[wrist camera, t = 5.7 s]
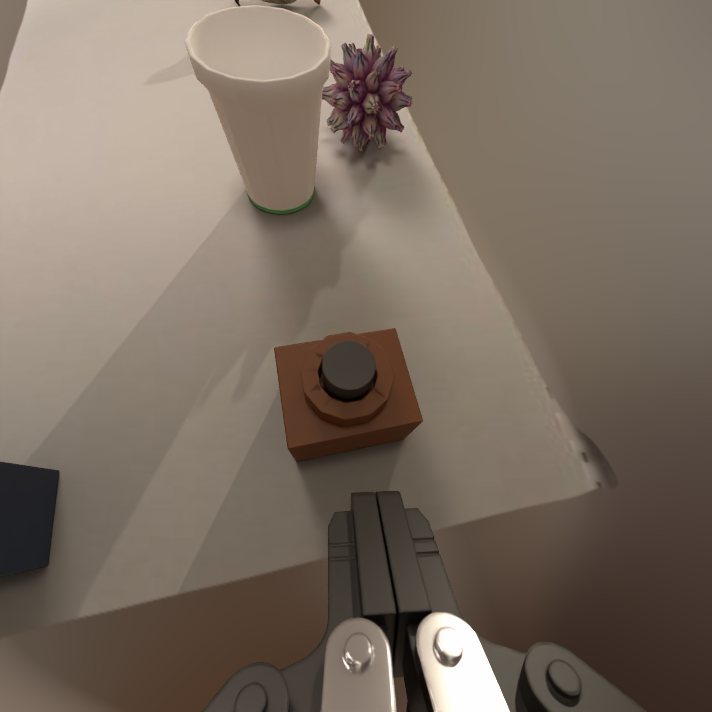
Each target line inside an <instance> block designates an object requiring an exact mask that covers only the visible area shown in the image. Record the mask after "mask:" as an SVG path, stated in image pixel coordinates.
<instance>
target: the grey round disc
mask: <svg viewBox="0 0 712 712" xmlns="http://www.w3.org/2000/svg"><path fill="white" fill-rule="evenodd" d="M375 370H376V362H375V358H374V356H373V354H372V352H371V351H370V350H369V349H368V348H367V347H366V346H364V345H363V344H361V343H359V342H355V341H341V342H338V343H336V344H334V345H333V346H331V347H330V348H329V349H328V350H327V351H326V353H325V355H324V357H323V361H322V377H323V382H324V385H325V387H326V388H327V389H328V391H329V392H330V393H331V394H333V395H334V396H336V397H339V398H342V399H354V398H357V397H360V396H361V395H363V394H364V393H365V392H366V391H367V390H368V389H369V387H370V385H371V383H372V380H373V377H374V374H375Z"/></svg>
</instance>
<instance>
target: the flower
mask: <svg viewBox="0 0 712 712" xmlns="http://www.w3.org/2000/svg"><path fill="white" fill-rule="evenodd" d="M341 47H342V50H343V60H344V65H343V64H338V63H334V62H333V61H332V60H330V71H331V73H332V74H333V77H334V79H335V81H336V82H337V84H332V85H331V86H329V87H323V90H322V99H324V100H326V101H327V102H328V103H329V104H330V105H331V106H333V107H335V108H334V109H333V111H332V113H331V116H330V117H329V118H328V119H327V123H328V126H330V125H331V126H330V129H331V130H332V132H333V133H335V132H336V131H337V130H343V137H342V140H341V142H342V143H343V144H344V143H345V141H346V140H347V139H349V138H350V137H351V136H352V137H353V147H355V148H356V147H357V145H358V144H359V151H364V146H365V145H366V143H367V142H368V140H371V141H373V142H374V143H375V144H376V145H377V147H378V149H379V150H380V149H381V148H383V145H385V144H386V143H387V142H386V138H385V134H386V128H388V129H391V130H398V131H400V132H402V130H403V129H404V126H403V125H402V124H401V122H400V119H399V116H398V114H397V113H396V111H398V110H400V109H402V108H404V107H410V106H411V102H412V101H411V100H412V97H411V96H407V95H405V94H404V93H403V92H402V85H403V83H404V82H405V80H406V79H407V78H408V77H409V76H410V75H411V74H412V72H411V71H410V70H407V71H405V72H403V71H404V67H403V66H402V65H401V66H399V67H398V68H393V65H394V60H395V54H396V52H397V48H396V47H395V46H393V47H392V48H391V50H388V51H387V53H386V54H385V55H383V56H382V57H381V55H380V54H381V48H380V47H379V46H377V47H376V49H375V46H374V35H370V34H368V35H367V41H366V44H365V47H364V48H363V50H362V49H356V47H355V45H354V43H351V44H349V48H348V46H347V44H346V43H344V44H342V46H341Z"/></svg>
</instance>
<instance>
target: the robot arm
mask: <svg viewBox="0 0 712 712" xmlns="http://www.w3.org/2000/svg"><path fill="white" fill-rule="evenodd" d="M394 677H404V681H405V687H406V693H407V699H408V702H407V712H647V711H646V710H645V709H643V708H642V707H641V706H640V705H638V704H637V703H636V702H635V701H633V700H632V699H631V698H629V697H628V696H627V695H626V694H624V693H623V692H622V691H621V690H619V689H618V688H617V687H615V686H614V685H613V684H612V683H610V682H609V681H608V680H607V679H605V678H604V677H603V676H601V675H600V674H599V673H598V672H596V671H595V670H594V669H592V668H591V667H590V666H589V665H587V664H586V663H585V662H584V661H582V660H581V659H580V658H578V657H577V656H576V655H575V654H573V653H572V652H570V651H569V650H567V649H566V648H564V647H562V646H560V645H557V644H554V643H550V642H540V643H536V644H534V645H533V646H532V647H530V648H529V650H528V651H527V653H523V652H520V651H517V650H514V649H510V648H506V647H504V646H500V645H497V644H494V643H492V642H489V641H488V640H485V639H484V638H482V637H481V636H479V635H478V634H477V633H476V632H475V631H474V630H472V628H471V627H470V626H469V625H468V624H467V623H466V621H465V620H464V618H463V617H462V615H461V613H460V611H459V609H458V606H457V603H456V600H455V597H454V595H453V591H452V588H451V585H450V583H449V580H448V577H447V574H446V571H445V568H444V565H443V562H442V559H441V556H440V555H439V551H438V548H437V545H436V542H435V541H434V536H433V533H432V530H431V527H430V524H429V521H428V520H427V519H426V518H425V517H424V515H423V514H422V513H421V512H420V511H419V510H418V508H411V509H404V505H403V502H402V498H401V494H400V492H399V491H383V492H376V493H375V492H361V493H351V511H344V512H335V513H334V515H333V517H332V519H331V521H330V524H329V526H328V624H327V629H326V632H325V635H324V637H323V639H322V640H321V642H320V643H319V645H318V646H317V648H316V649H315V650H314V651H313V652H312V653H310V654H309V655H308V656H307V657H305V658H303V659H302V660H300V661H298V662H296V663H294V664H292V665H290V666H288V667H286V668H284V669H281V670H279V669H277V668H276V667H275V666H273V665H271V664H269V663H263V662H257V663H252V664H249V665H247V666H245V667H243V668H241V669H240V670H238V671H237V672H236V673H234V674H233V675H232V676H231V677H230V678H229V679H228V681H227V682H226V683H225V684H224V685H223V687H222V688H221V689H220V690H219V691H218V693H217V694H216V695H215V696H214V698H213V699H212V700H211V701H210V702H209V704H208V705H207V706H206V707H205V708H204V710H203V711H202V712H396V703H395V691H394V679H393V678H394Z"/></svg>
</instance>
